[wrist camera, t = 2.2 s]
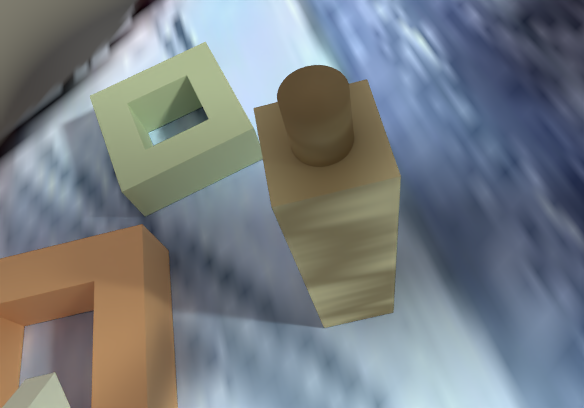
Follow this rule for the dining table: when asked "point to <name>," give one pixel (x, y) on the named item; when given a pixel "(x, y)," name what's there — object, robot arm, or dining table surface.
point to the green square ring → (184, 146)
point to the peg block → (333, 191)
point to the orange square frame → (98, 313)
